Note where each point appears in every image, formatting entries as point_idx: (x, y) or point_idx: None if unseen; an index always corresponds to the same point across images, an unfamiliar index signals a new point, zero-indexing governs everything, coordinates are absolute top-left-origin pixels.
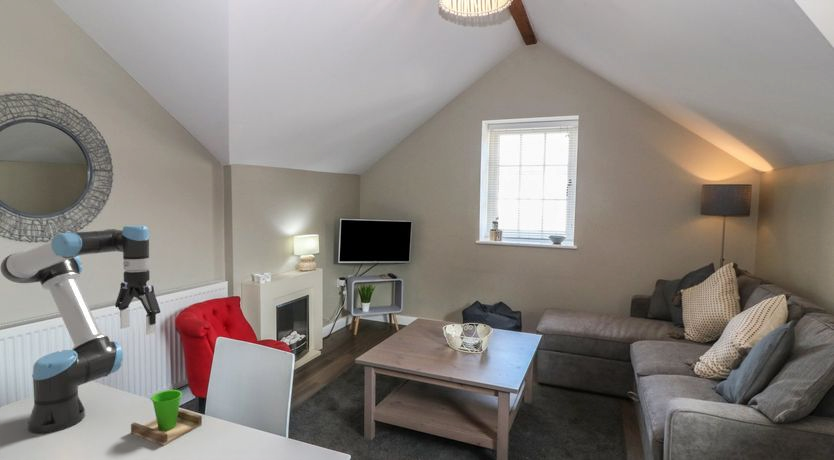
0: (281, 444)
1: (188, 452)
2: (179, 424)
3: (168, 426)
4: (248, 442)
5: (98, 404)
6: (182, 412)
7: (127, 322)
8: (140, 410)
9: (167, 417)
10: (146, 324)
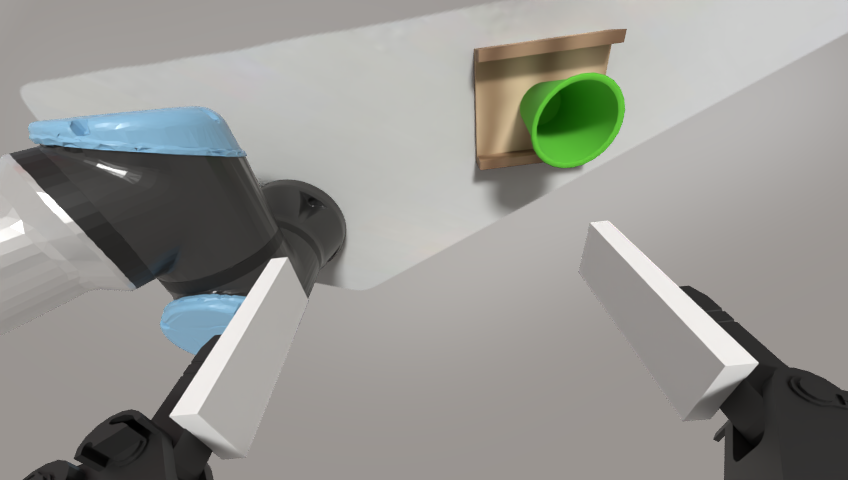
0: None
1: (660, 132)
2: (559, 77)
3: (561, 115)
4: (804, 9)
5: (257, 138)
6: (550, 51)
7: (280, 298)
8: (379, 88)
9: (574, 125)
10: (626, 333)
